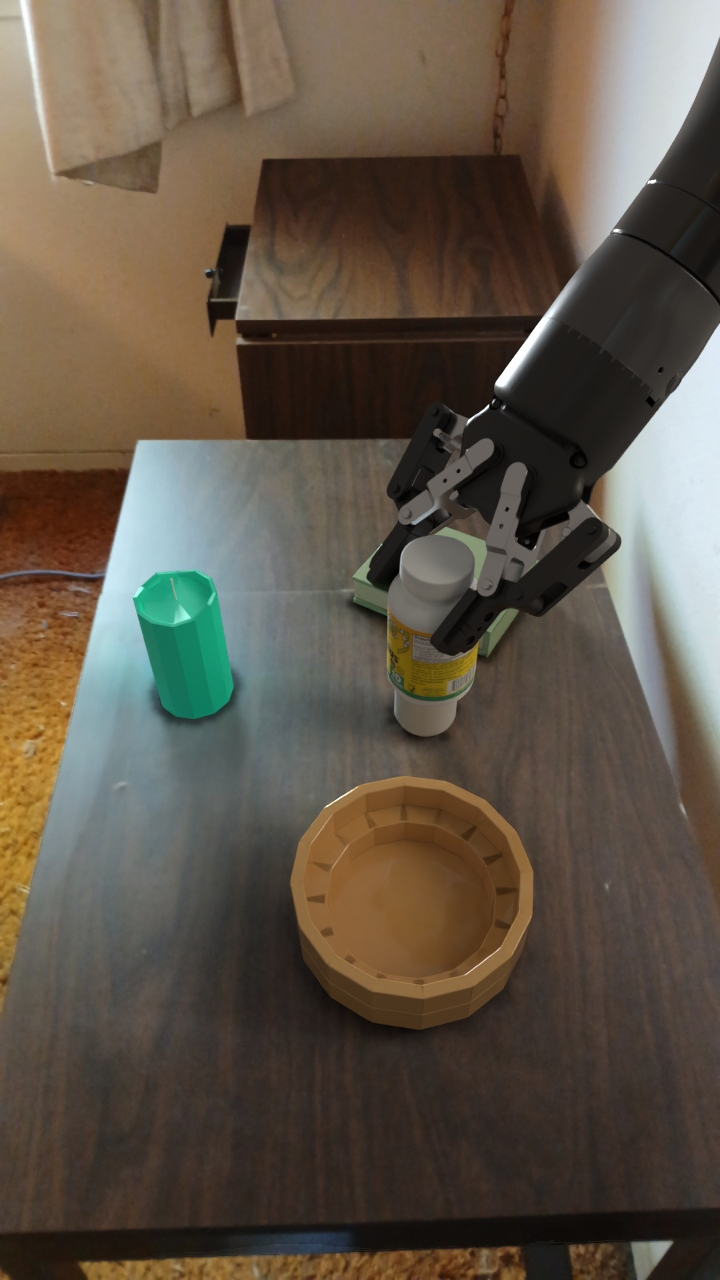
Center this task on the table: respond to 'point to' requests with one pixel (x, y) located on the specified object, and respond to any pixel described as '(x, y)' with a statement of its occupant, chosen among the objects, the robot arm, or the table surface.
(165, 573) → the candle
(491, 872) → the bowl
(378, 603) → the book
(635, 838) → the table surface
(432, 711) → the beverage can
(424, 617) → the supplement bottle
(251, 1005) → the table surface
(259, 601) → the table surface
